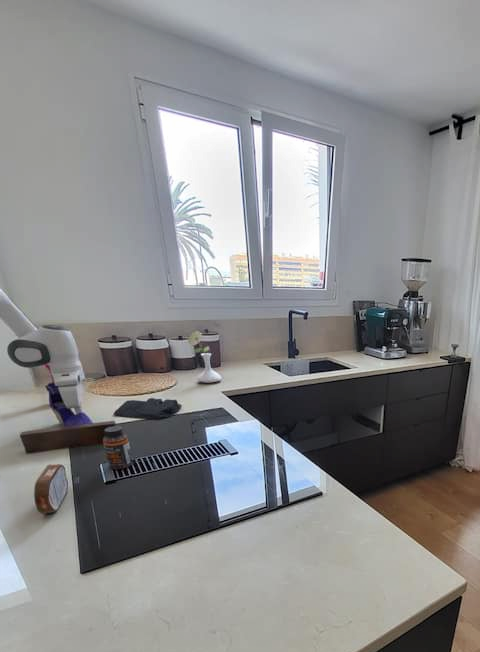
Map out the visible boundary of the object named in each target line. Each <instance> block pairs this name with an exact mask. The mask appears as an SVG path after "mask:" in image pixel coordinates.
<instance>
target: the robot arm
mask: <svg viewBox="0 0 480 652" xmlns="http://www.w3.org/2000/svg"><path fill="white" fill-rule="evenodd" d="M0 320H1V321H2V322H3V323H4V324H6V326H7V327H8V328H9V329H10V330H11V331H12V333H14V334H15V335H16V336H17V338H15V339H13V340H11V342H9V344H8V345H7V348H6V351H7V355H8V357H9V359H10V360H11V361H12V362H13V363H14V364H15V365H17V366H19V367H21V368H22V367H23V368H26V369H27V368H28V369H30V368H33V369H34V368H38V367H41V366H45V365H49V366H50V369H51V373H52V376H53V379H54V383H55V386H58V389H59V392H60V394H61V397H62V399H63V402H64V404H65V406H66V407H67V408H68V409H69V408H71V409H73V410H74V413H75V415H76V414H78V413H82V412H83V407H82V399H83V395H84V391H85V390H84V388H83V380H85V379H86V375H85V372H84V369H83V365H82V362H81V360H80V358H79V349H78V346H77V343H76V341H75V337H74V335H73V333H72V331H71V330H70V329H69V328H67V327H65V326H63V325H56V324H44V325H41V326H40V327H39V326H37V325H36V324H34V322H33V321H32V320H31V319H30V318H29V317H28V316H27V315H26V313H24V312H23V311H22V309H21V308H19V306H18V305H17V304H16V303H15V302H14V301H13V299H11V298H10V297H9V296H8V295H7V294H6V293H5V291H4V290H3V289H1V288H0Z"/></svg>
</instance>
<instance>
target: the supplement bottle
mask: <svg viewBox="0 0 480 652" xmlns="http://www.w3.org/2000/svg"><path fill="white" fill-rule="evenodd" d="M105 434H106V436H105V437H104V438H103V443H102V444H103V447H104V452H105V455H106V459H107V463H108V466H109V468H110V469H112V470H116V469H117V470H124V469H127V468H129V467H131V466H132V465H133V464H134V460H133V456H132V452H131V447H130V443H129V438H128V435H127V433H124V432H123V429H122V427H121V426H119V425H118V426H117V425H116V426H114V427H109V428H106V429H105Z"/></svg>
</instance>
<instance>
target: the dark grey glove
mask: <svg viewBox="0 0 480 652" xmlns="http://www.w3.org/2000/svg"><path fill="white" fill-rule="evenodd" d="M178 402H179V401H178V400H177V399H169V398H168V399H167V398H166V399H165V400H163V399H162V398H154V397H150V398H148V399H146V400H135V399H131V400H130V399H129V400H126V401H124V402H123V403H122V404H121V405H119V407H118V408H117V409H115V411H114V412H113V415H114V416H119V417H124V418H132V419H133V418H134V419H150V420H160V419H168V418H169V417H170V418H171V417H172V415H175V414H177V413H178V412H179V411H180V409H181V408H182V407H183V405H182V404H181V403H178Z"/></svg>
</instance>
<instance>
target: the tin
mask: <svg viewBox="0 0 480 652" xmlns="http://www.w3.org/2000/svg"><path fill="white" fill-rule="evenodd" d="M33 489H34V490H33V497H34V504H35V507H36V511H38V513H39V514H42V515H43V514H48V513H49V514H51V513H55V512H57V511H58V510H59V509H60V507H61V505H62V503H63V501H64V500H65V497H66V496H67V494H68V489H69V481H68V478H67V473H66V468H65V466H64V465H63V464H60V463H59V464H47V465H46V466H45V468H44V469H43V471H42V472H41V473H40V475H39V476H38V477H37V479H36V481H35V483H34V488H33Z"/></svg>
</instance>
